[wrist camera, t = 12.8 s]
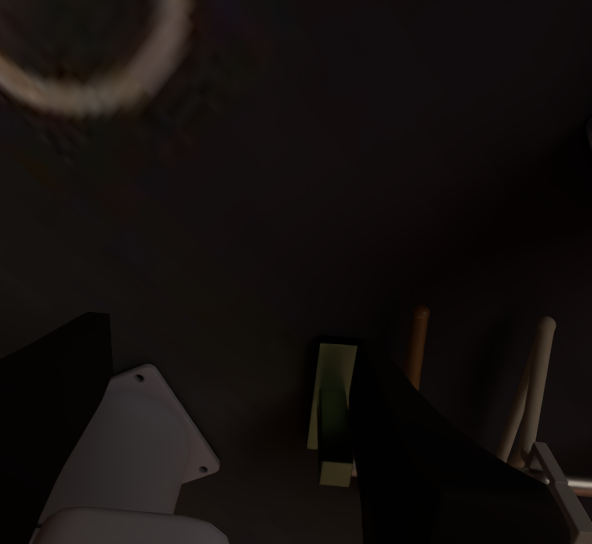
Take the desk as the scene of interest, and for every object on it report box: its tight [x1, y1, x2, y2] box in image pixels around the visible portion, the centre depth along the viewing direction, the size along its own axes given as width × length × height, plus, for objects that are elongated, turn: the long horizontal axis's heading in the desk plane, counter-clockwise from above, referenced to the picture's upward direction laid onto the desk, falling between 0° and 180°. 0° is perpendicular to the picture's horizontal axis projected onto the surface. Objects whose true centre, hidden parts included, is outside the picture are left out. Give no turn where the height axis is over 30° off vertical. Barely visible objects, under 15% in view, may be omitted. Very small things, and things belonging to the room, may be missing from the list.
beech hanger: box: [402, 305, 430, 390], centre depth 24 cm, size 13×1×8 cm, turn 175°
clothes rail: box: [306, 335, 592, 497], centre depth 26 cm, size 7×21×6 cm, turn 85°
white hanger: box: [495, 317, 592, 544], centre depth 24 cm, size 13×1×8 cm, turn 175°
